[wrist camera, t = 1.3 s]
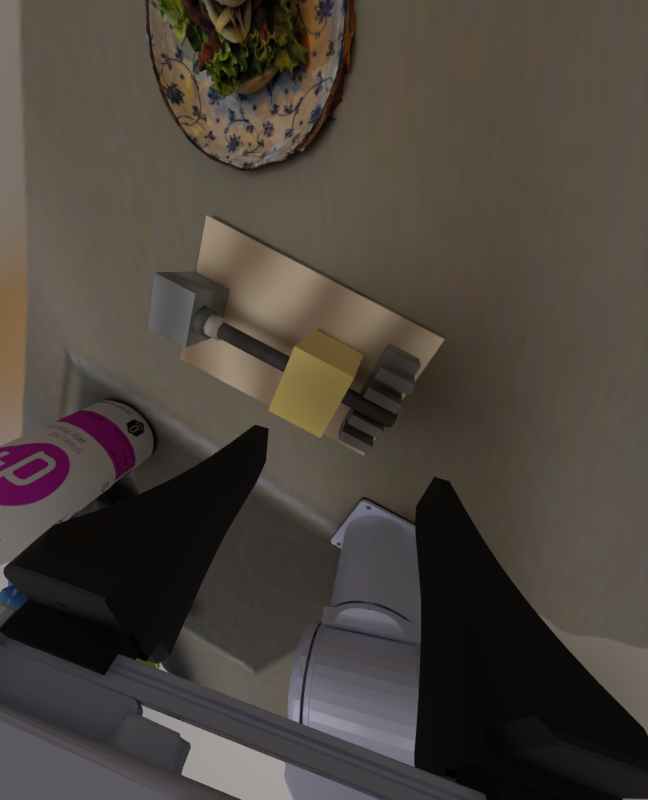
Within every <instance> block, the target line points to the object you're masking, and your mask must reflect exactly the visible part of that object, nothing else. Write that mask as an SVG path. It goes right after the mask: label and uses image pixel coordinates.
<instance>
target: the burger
mask: <svg viewBox="0 0 648 800" xmlns="http://www.w3.org/2000/svg"><path fill="white" fill-rule="evenodd" d="M353 5H354V0H145V7H146V29H147V32H146V35H147V40H148V45H149V50H150V57H151V60H152V67H153V69H154V73H155V75H156V80H157V82H158V85H159V89H160V92H161V95H162V98H163V100H164V102H165V104H166V106H167V108H168V110H169V112H170V115H171V116H172V118H173V119H174V121H175V122H176V123H177V125H178V126H179V127H180V128H181V130H182V131H183V132H184V134H185V135H186V137H187V138H188V140H189V141H190V142H191V143H192V144H193V145H194V146H195V147H196V148H197V149H199V150H200V151H201V152H202V153H204V154H205V155H206V156H208V157H209V158H210V159H213V160H215V161H217V162H220V163H222V164H225V165H227V166H230V167H232V168H235V169H237V170H242V171H246V170H251V169H254V168H257V167H261V166H264V165H268V164H271V163H275V162H281V161H284V160H286V159H287V158H288V156H290V155H292V154H294V153H295V152H297V151H303V150H304V149H305V148H306V147H307V146H308V145H309V144H310V143H311V142H312V141H313V139H314V137H315V136H316V134H317V132H318V131H319V129H320V128H321V126H322V125H323V123H324V122H325V120H326V118H327V117H329V116H331V117H332V118H333V119H335V118H334V117H333V116H332V115H331V111H332V110H333V109H334V108H335V107H336V106H337V105H338V104H339V103H341V102H342V101H343V100H342V98H341V96H342V94H343V85H344V78H343V75H344V74H347V73H348V72H350V73H351V71H350V66H349V62H350V50H349V49H350V43H351V38H352V36H353V35H354V31H355V23H356V14H355V12H354V7H353Z"/></svg>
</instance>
